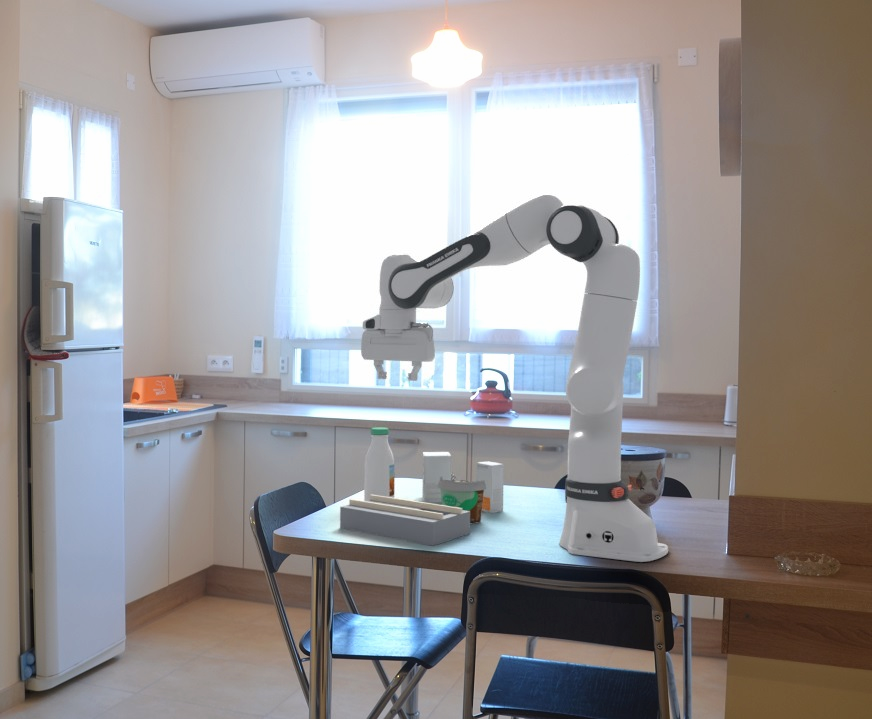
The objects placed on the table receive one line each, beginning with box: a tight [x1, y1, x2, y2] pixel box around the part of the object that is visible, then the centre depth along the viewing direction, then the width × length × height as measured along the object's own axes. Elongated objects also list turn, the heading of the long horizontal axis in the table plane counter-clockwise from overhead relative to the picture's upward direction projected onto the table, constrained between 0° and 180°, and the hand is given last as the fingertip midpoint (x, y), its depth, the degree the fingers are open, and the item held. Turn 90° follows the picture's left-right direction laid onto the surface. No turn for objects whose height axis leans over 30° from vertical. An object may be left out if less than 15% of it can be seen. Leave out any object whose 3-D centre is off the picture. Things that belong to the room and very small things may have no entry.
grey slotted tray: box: [339, 494, 471, 547], centre depth 195 cm, size 26×14×6 cm, turn 54°
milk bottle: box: [363, 426, 395, 501], centre depth 223 cm, size 8×8×20 cm
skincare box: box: [475, 460, 505, 514], centre depth 218 cm, size 6×4×12 cm
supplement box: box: [422, 451, 452, 503], centre depth 230 cm, size 7×7×13 cm
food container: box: [437, 476, 486, 524], centre depth 204 cm, size 12×6×10 cm, turn 62°
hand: (397, 379), depth 209 cm, fingers open, 8 cm apart
